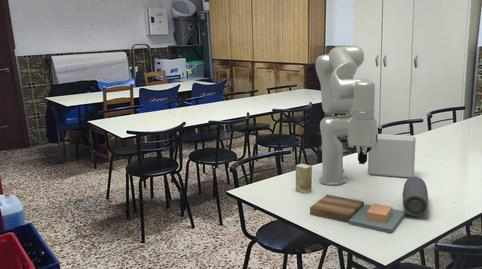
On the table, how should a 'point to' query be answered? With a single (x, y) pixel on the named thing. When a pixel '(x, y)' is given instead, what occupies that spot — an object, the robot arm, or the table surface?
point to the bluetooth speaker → (415, 196)
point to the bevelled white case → (393, 156)
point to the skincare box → (303, 178)
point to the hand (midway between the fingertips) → (362, 163)
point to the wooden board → (336, 208)
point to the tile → (379, 213)
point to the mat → (387, 227)
